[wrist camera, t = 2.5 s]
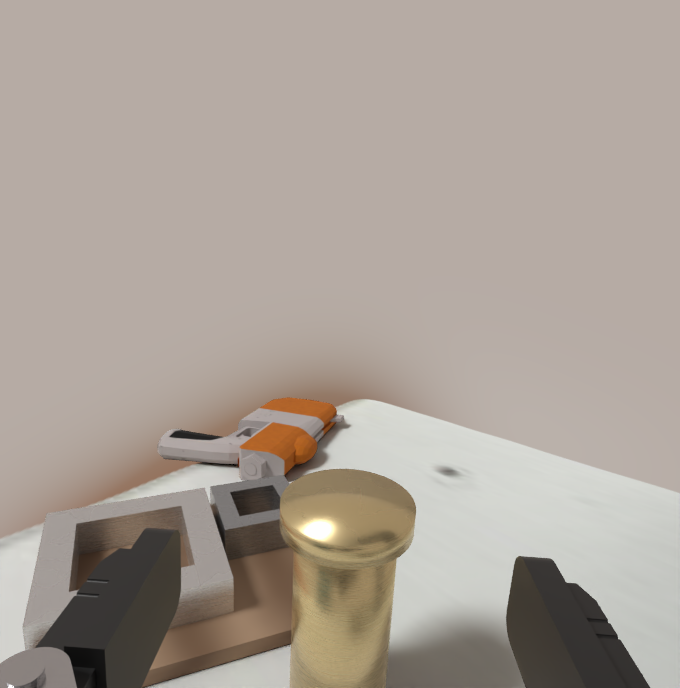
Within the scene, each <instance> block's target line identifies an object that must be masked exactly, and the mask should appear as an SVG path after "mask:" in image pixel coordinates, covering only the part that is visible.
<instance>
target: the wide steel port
mask: <svg viewBox="0 0 680 688" xmlns="http://www.w3.org/2000/svg"><path fill="white" fill-rule="evenodd" d="M146 528H160V529H173V530H179V532H180V535H183V540H184V545H185V550H186V554H187V559H188V564H189V566H186V567H182V568H181V593H180V599H179V604H178V607H177V611H176V613H175V616H174V618H173V620H172V622H171V625H170V627H169V629H172V628H176V627H180V626H184V625H188V624H192V623H196V622H199V621H203V620H207V619H211V618H215V617H219V616H223V615H226V614H230V613H234V585H233V575H232V572H231V569H230V566H229V563H228V559H227V556H226V553H225V550H224V547H223V544H222V541H221V537H220V534H219V531H218V528H217V525H216V522H215V519H214V516H213V512H212V509H211V506H210V503H209V500H208V497H207V494H206V491H205V488H201V489H195V490H188V491H182V492H176V493H170V494H164V495H157V496H151V497H145V498H139V499H133V500H126V501H120V502H114V503H108V504H102V505H95V506H89V507H83V508H77V509H71V510H65V511H59V512H53V513H47V514H46V519H45V523H44V528H43V533H42V538H41V542H40V547H39V552H38V557H37V561H36V566H35V571H34V576H33V580H32V585H31V590H30V595H29V599H28V604H27V609H26V614H25V618H24V623H23V634H24V642H25V650H29V649H33V648H35V647H36V646H37V645H38V643H39V642H40V641H41V639H42V638H43V637H44V635H45V634H46V633H47V631H48V630H49V629H50V627H51V626H52V625H53V623H54V622H55V621H56V619H57V618H58V617H59V615H60V614H61V613H62V611H63V610H64V609H65V608H66V606H67V605H68V604H69V602H70V601H71V600H72V598H73V597H74V596H76V595H77V592H78V590H76V583H77V573H78V562H79V555H81V554H87V553H92V552H97V551H102V550H107V549H112V548H118V547H123V546H128V545H133V544H135V542H136V541H137V539H138V538H139V536H140V535H141V533H142V532H143V531H144V529H146ZM169 629H168V630H169Z"/></svg>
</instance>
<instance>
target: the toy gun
mask: <svg viewBox="0 0 680 688" xmlns="http://www.w3.org/2000/svg"><path fill="white" fill-rule="evenodd" d="M336 413H337V410H336V408H335V407H334V406H333V405H332V404H329V403H324V402H319V401H313V400H307V399H297V398H282V399H274V400H272V401H270V402H268V403H267V404H265V405H264V406H262V407H260V408H259V409H257V410H256V411H254V412H253V413H251V414H249V415H248V416H246V417H245V418H243V419H241V420H240V422H239V425H238V431H236V432H234V433H232V434H231V435H229V436H227V437H220V436H213V435H207V434H201V433H195V432H189V431H183V430H181V429H172V430H169V431H168V432H166V433H165V434H164V435H163V436H162V437H161V439H160V441H159V443H158V453H159V454H160V455H161V456H162V457H163V458H164V459H172V460H185V461H196V462H208V463H221V464H238V467H239V478H240V479H241V480H247V481H248V480H255V479H261V478H267V477H273V476H279V475H285V474H286V473H287V472H288V471H289V470H290V469H291V468H292V467H293V466H294V465H295V464H302V463H305V462H307V461H308V460H310V459H311V458H312V457H313V456H314V454H315V453H316V451H317V441H318V440H319V439H320V438H321V437H322V436H323V435H324V434H325V433H326V432H327V431H328V430H329V429H330V428H331V427H332V426H333V425H334V424H335V423H336V422H341V421H342V420H343V419H344V416H343V415H336Z"/></svg>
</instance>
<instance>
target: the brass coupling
mask: <svg viewBox="0 0 680 688" xmlns="http://www.w3.org/2000/svg"><path fill="white" fill-rule="evenodd" d="M415 516H416V506H415V502H414V500H413V498H412V497H411V495H410V494H409V493H408V492H407V490H405V489H404V488H403V487H402V486H400V485H399V484H398V483H396V482H394V481H392V480H391V479H388V478H386V477H384V476H381V475H378V474H375V473H371V472H366V471H361V470H353V469H330V470H323V471H318V472H314V473H310V474H307V475H305V476H302V477H300V478H298V479H297V480H295V481H294V482H292V483H291V484H290V485H289V486H287V488H286V489H285V490H284V492H283V493H282V496H281V499H280V532H281V535H282V538H283V539H284V541H285V542H286V544H287V545H288V546H289V547H290V548H291V549H292V550H293V551H294V558H293V592H292V625H291V659H290V688H385V685H386V673H387V662H388V650H389V639H390V628H391V616H392V605H393V593H394V582H395V570H396V559H397V558H398V557H399V556H401V555H402V554H403V553H404V552H405V551H406V550H407V549H408V548H409V546H410V545H411V543H412V540H413V537H414V526H415Z"/></svg>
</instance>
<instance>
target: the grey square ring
mask: <svg viewBox="0 0 680 688" xmlns="http://www.w3.org/2000/svg"><path fill="white" fill-rule="evenodd" d="M289 485H290V484H289V483H288V481H287V479H286V478H285V476H284V475H279V476H273V477H267V478H261V479H255V480H248V481H242V482H236V483H230V484H224V485H217V486H211V487H210V498H211V509H212V512H213V516H214V519H215V522H216V525H217V528H218V531H219V534H220V537H221V541H222V544H223V547H224V550H225V553H226V556H227V559H228V560H233V559H237V558H242V557H246V556H251V555H256V554H260V553H265V552H269V551H274V550H278V549H283V548H287V547H289V546H288V545H287V544H286V542H285V541H284V539H283V538H282V535H281V532H280V499H281V496H282V493H283V492H284V490H285V489H286V488H287V486H289Z"/></svg>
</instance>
